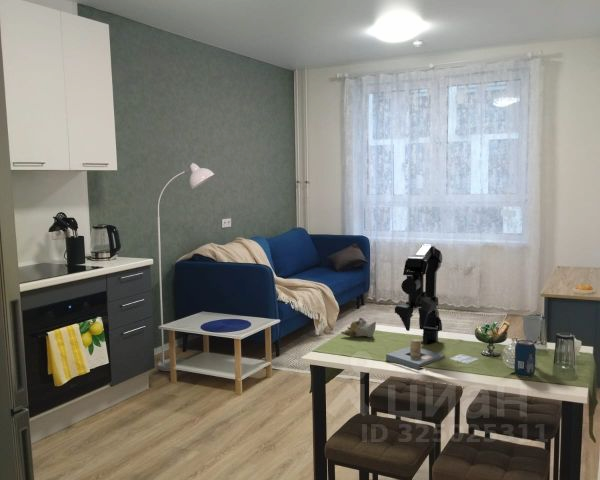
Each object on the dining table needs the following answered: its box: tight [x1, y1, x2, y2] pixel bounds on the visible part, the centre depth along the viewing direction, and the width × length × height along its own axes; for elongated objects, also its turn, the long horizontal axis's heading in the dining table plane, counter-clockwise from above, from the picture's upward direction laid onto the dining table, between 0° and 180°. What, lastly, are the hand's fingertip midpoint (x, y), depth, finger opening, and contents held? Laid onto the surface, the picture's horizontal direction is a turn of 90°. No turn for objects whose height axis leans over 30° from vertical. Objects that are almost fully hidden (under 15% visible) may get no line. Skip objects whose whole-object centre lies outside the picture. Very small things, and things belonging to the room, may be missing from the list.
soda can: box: [514, 339, 536, 378], centre depth 204 cm, size 7×7×12 cm
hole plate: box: [385, 346, 446, 372], centre depth 221 cm, size 16×16×3 cm
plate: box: [449, 353, 479, 365], centre depth 219 cm, size 8×8×2 cm
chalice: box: [521, 315, 543, 366], centre depth 215 cm, size 7×7×18 cm
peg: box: [409, 338, 422, 358], centre depth 221 cm, size 4×4×8 cm
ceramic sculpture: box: [340, 317, 377, 339], centre depth 256 cm, size 11×9×15 cm
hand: (415, 328), depth 220 cm, fingers open, 9 cm apart
